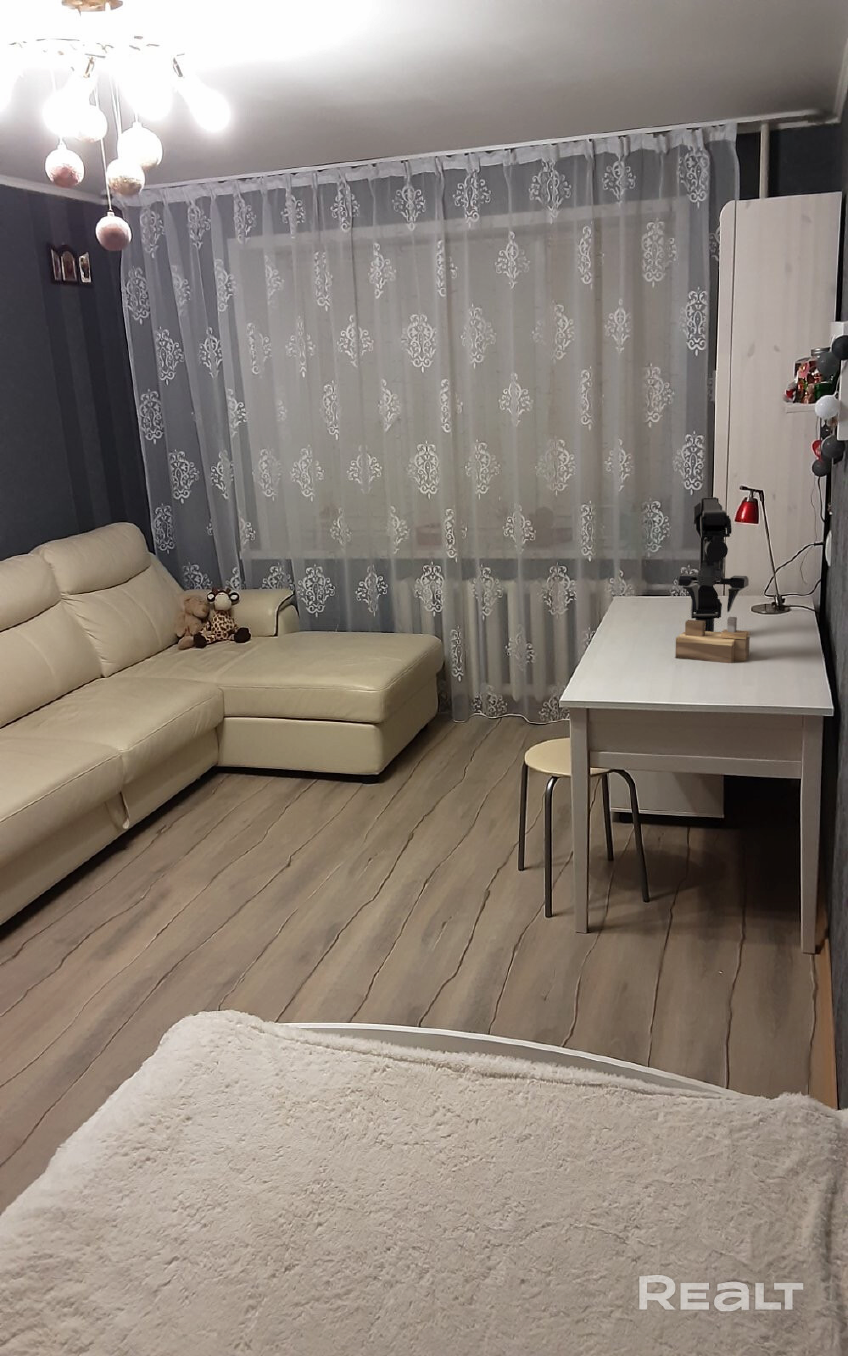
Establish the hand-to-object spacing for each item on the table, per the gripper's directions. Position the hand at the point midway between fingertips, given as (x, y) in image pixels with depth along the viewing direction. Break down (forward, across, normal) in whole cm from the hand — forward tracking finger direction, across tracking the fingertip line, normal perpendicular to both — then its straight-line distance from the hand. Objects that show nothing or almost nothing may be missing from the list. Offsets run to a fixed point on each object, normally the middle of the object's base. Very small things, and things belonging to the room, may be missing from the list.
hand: (712, 610), depth 302 cm
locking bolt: (+7, +7, 0) cm, 10 cm away
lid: (+8, -1, 0) cm, 8 cm away
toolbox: (+13, +1, +1) cm, 13 cm away
